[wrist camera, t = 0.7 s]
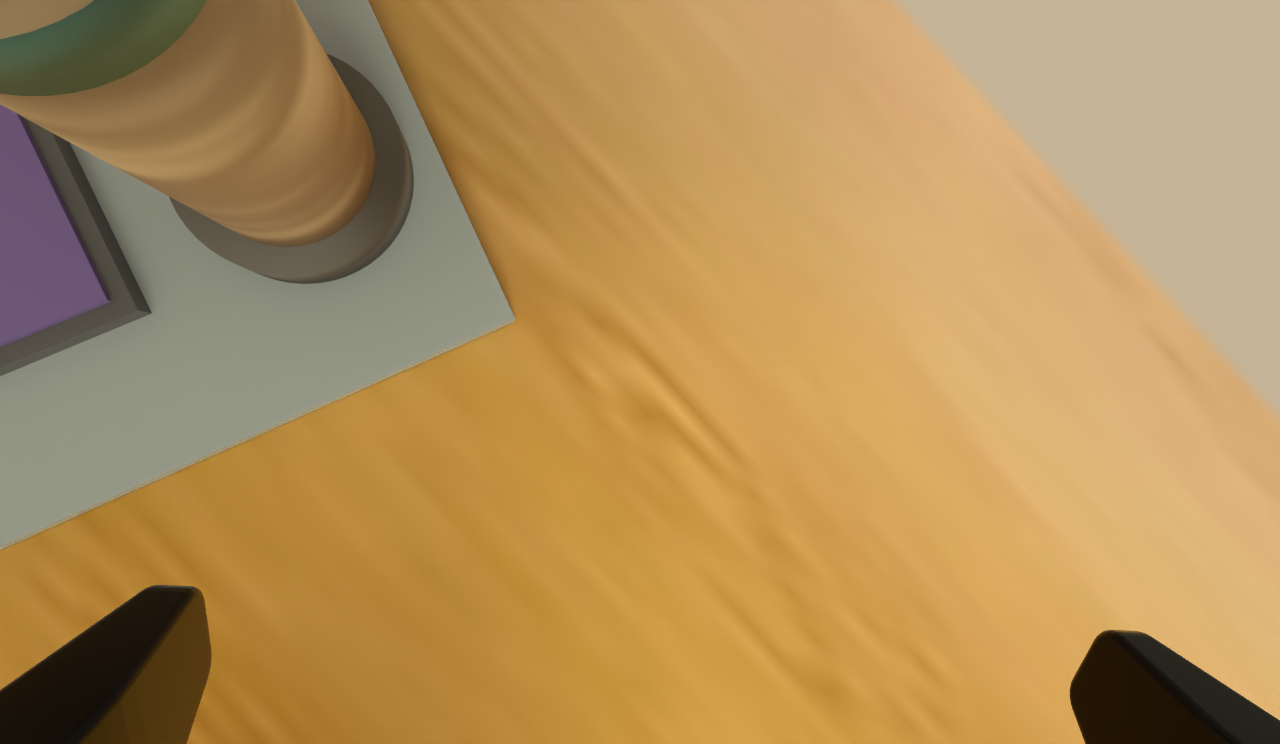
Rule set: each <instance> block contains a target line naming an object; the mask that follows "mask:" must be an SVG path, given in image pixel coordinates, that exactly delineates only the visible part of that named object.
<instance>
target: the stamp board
mask: <svg viewBox="0 0 1280 744" xmlns="http://www.w3.org/2000/svg"><path fill="white" fill-rule="evenodd" d="M295 1H296V3H297V5H298V7H299V8H300V10H301V12H302V13H303V15H304V17H305V18H306V20H307V22H308V24H309V25H310V27H311V29H312V30H313V32H314V34H315V35H316V37H317V39H318V41H319V42H320V44H321V46H322V47H323V49H324V51H325V53H327V54H329V55H332V56H334V57H336V58H338V59H340V60H342V61H343V62H345V63H347V64H348V65H350V66H351V67H353V68H354V69H356V70H357V71H358V72H360V73H361V74H362V75H363V76H364V77H365V78H366V79H367V80H369V81H370V82H371V83H372V84H373V86H374V87H375V88H376V89H377V90H378V91H379V93H380V94H381V95H382V97H383V98H384V100H385V101H386V103H387V104H388V106H389V107H390V109H391V111H392V114H393V116H394V118H395V120H396V122H397V124H398V126H399V128H400V130H401V132H402V134H403V137H404V139H405V141H406V143H407V146H408V149H409V152H410V155H411V160H412V165H413V175H414V188H413V197H412V202H411V206H410V210H409V213H408V216H407V218H406V221H405V223H404V225H403V227H402V229H401V231H400V233H399V234H398V236H397V237H396V239H395V240H394V241H393V243H392V244H391V245H390V246H389V247H388V249H387V250H386V251H385V252H384V253H383V254H382V255H381V256H380V257H378V258H377V259H376V260H375V261H373V262H372V263H371V264H369V265H368V266H366V267H364V268H363V269H361V270H359V271H358V272H355V273H353V274H351V275H349V276H346V277H343V278H340V279H337V280H333V281H329V282H323V283H314V284H298V283H288V282H283V281H278V280H274V279H271V278H268V277H265V276H262V275H259V274H257V273H255V272H253V271H250V270H248V269H246V268H243V267H241V266H239V265H236V264H234V263H232V262H230V261H228V260H226V259H224V258H222V257H221V256H219V255H218V254H216V253H215V252H213V251H212V250H210V249H209V248H207V247H206V246H205V245H204V244H203V243H202V242H200V241H199V240H198V239H197V238H196V237H195V236H194V235H193V234H192V233H191V232H190V230H189V229H188V228H187V227H186V226H185V224H184V223H183V221H182V220H181V219H180V217H179V216H178V214H177V213H176V211H175V209H174V207H173V205H172V203H171V201H170V199H169V196H167V195H166V194H164V193H162V192H160V191H158V190H156V189H155V188H153V187H151V186H149V185H147V184H145V183H144V182H142V181H140V180H138V179H136V178H134V177H133V176H131V175H129V174H127V173H125V172H123V171H122V170H120V169H118V168H116V167H114V166H112V165H110V164H109V163H107V162H105V161H103V160H101V159H99V158H98V157H96V156H94V155H92V154H90V153H88V152H87V151H85V150H83V149H81V148H79V147H77V146H76V145H74V144H72V143H70V142H68V141H66V140H65V139H63V138H61V137H59V136H57V135H55V134H54V133H52V132H50V131H48V130H46V129H44V128H43V127H41V126H39V125H37V124H35V123H33V122H32V121H30V120H28V119H26V118H24V117H22V116H21V115H19V114H17V113H15V112H13V111H11V110H9V109H8V108H6V107H4V106H2V105H0V550H2V549H4V548H6V547H8V546H11V545H13V544H15V543H17V542H20V541H22V540H24V539H26V538H29V537H31V536H33V535H35V534H38V533H40V532H42V531H44V530H47V529H49V528H51V527H53V526H56V525H58V524H60V523H63V522H65V521H67V520H69V519H72V518H74V517H76V516H78V515H81V514H83V513H85V512H87V511H90V510H92V509H94V508H96V507H99V506H101V505H103V504H105V503H108V502H110V501H112V500H114V499H117V498H119V497H121V496H123V495H126V494H128V493H130V492H132V491H135V490H137V489H139V488H141V487H144V486H146V485H148V484H150V483H153V482H155V481H157V480H159V479H162V478H164V477H166V476H168V475H171V474H173V473H175V472H177V471H180V470H182V469H184V468H186V467H189V466H191V465H193V464H195V463H198V462H200V461H202V460H204V459H207V458H209V457H211V456H213V455H216V454H218V453H220V452H222V451H225V450H227V449H229V448H231V447H234V446H236V445H238V444H240V443H243V442H245V441H247V440H249V439H252V438H254V437H256V436H258V435H261V434H263V433H265V432H267V431H270V430H272V429H274V428H276V427H279V426H281V425H283V424H285V423H288V422H290V421H292V420H294V419H297V418H299V417H301V416H303V415H306V414H308V413H310V412H313V411H315V410H317V409H319V408H322V407H324V406H326V405H328V404H331V403H333V402H335V401H337V400H340V399H342V398H344V397H346V396H349V395H351V394H353V393H355V392H358V391H360V390H362V389H364V388H367V387H369V386H371V385H373V384H376V383H378V382H380V381H382V380H385V379H387V378H389V377H391V376H394V375H396V374H398V373H400V372H403V371H405V370H407V369H409V368H412V367H414V366H416V365H418V364H421V363H423V362H425V361H427V360H430V359H432V358H434V357H436V356H439V355H441V354H443V353H445V352H448V351H450V350H452V349H454V348H457V347H459V346H461V345H463V344H466V343H468V342H470V341H472V340H475V339H477V338H479V337H481V336H484V335H486V334H488V333H490V332H493V331H495V330H497V329H499V328H502V327H504V326H506V325H508V324H511V323H513V322H515V317H514V315H513V312H512V310H511V308H510V306H509V304H508V302H507V299H506V297H505V295H504V293H503V291H502V289H501V286H500V284H499V282H498V280H497V278H496V276H495V274H494V271H493V269H492V267H491V265H490V263H489V261H488V258H487V256H486V254H485V252H484V250H483V248H482V245H481V243H480V241H479V239H478V237H477V235H476V232H475V230H474V228H473V226H472V224H471V222H470V219H469V217H468V215H467V213H466V211H465V209H464V206H463V204H462V202H461V200H460V198H459V196H458V193H457V191H456V189H455V187H454V185H453V183H452V181H451V178H450V176H449V174H448V172H447V170H446V168H445V165H444V163H443V161H442V159H441V157H440V155H439V152H438V150H437V148H436V146H435V144H434V142H433V139H432V137H431V135H430V133H429V131H428V129H427V126H426V124H425V122H424V120H423V118H422V116H421V113H420V111H419V109H418V107H417V105H416V103H415V101H414V98H413V96H412V94H411V92H410V90H409V88H408V85H407V83H406V81H405V79H404V77H403V75H402V72H401V70H400V68H399V66H398V64H397V62H396V59H395V57H394V55H393V53H392V51H391V49H390V46H389V44H388V42H387V40H386V38H385V36H384V33H383V31H382V29H381V27H380V25H379V23H378V20H377V18H376V16H375V14H374V12H373V10H372V8H371V5H370V3H369V1H368V0H295Z"/></svg>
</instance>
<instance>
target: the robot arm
mask: <svg viewBox="0 0 1280 744" xmlns="http://www.w3.org/2000/svg"><path fill="white" fill-rule="evenodd" d="M210 666H211V644H210V637H209V630H208V622H207V615H206V608H205V601H204V597H203V594H202V592H201V591H200V590H199V589H198V588H195V587H192V586H171V585H154V586H151V587H148V588H146V589H144V590H143V591H141V592H140V593H138V594H137V595H135V596H134V597H132V598H131V599H130V600H128V601H127V602H125V603H124V604H122V605H121V606H120V607H118V608H117V609H115V610H114V611H112V612H111V613H110V614H108V615H107V616H105V617H104V618H102V619H101V620H100V621H98V622H97V623H95V624H94V625H92V626H91V627H90V628H88V629H87V630H85V631H84V632H82V633H81V634H80V635H78V636H77V637H75V638H74V639H72V640H71V641H70V642H68V643H67V644H65V645H64V646H62V647H61V648H60V649H58V650H57V651H55V652H54V653H53V654H51V655H50V656H48V657H47V658H45V659H44V660H43V661H41V662H40V663H38V664H37V665H35V666H34V667H33V668H31V669H30V670H28V671H27V672H25V673H24V674H23V675H21V676H20V677H18V678H17V679H15V680H14V681H13V682H11V683H10V684H8V685H7V686H5V687H4V688H3V689H1V690H0V744H187V741H188V737H189V734H190V731H191V728H192V725H193V722H194V719H195V716H196V713H197V710H198V707H199V704H200V701H201V698H202V694H203V691H204V688H205V685H206V682H207V679H208V675H209V671H210ZM1070 701H1071V705H1072V709H1073V712H1074V714H1075V717H1076V720H1077V722H1078V725H1079V728H1080V730H1081V733H1082V736H1083V738H1084V741H1085V744H1280V720H1278V719H1277V718H1275V717H1273V716H1272V715H1270V714H1269V713H1267V712H1266V711H1264V710H1263V709H1261V708H1260V707H1258V706H1257V705H1255V704H1254V703H1252V702H1250V701H1249V700H1247V699H1246V698H1244V697H1243V696H1241V695H1240V694H1238V693H1237V692H1235V691H1234V690H1232V689H1231V688H1229V687H1227V686H1226V685H1224V684H1223V683H1221V682H1220V681H1218V680H1217V679H1215V678H1214V677H1212V676H1211V675H1209V674H1208V673H1206V672H1204V671H1203V670H1201V669H1200V668H1198V667H1197V666H1195V665H1194V664H1192V663H1191V662H1189V661H1188V660H1186V659H1185V658H1183V657H1182V656H1180V655H1178V654H1177V653H1175V652H1174V651H1172V650H1171V649H1169V648H1168V647H1166V646H1165V645H1163V644H1162V643H1160V642H1159V641H1157V640H1155V639H1154V638H1152V637H1151V636H1149V635H1147V634H1145V633H1142V632H1138V631H1123V630H1107V631H1103V632H1102V633H1100V634H1099V635H1098V636H1097V637H1096V638H1095V640H1094V642H1093V643H1092V645H1091V647H1090V649H1089V651H1088V652H1087V654H1086V656H1085V658H1084V660H1083V661H1082V663H1081V665H1080V667H1079V669H1078V671H1077V672H1076V674H1075V676H1074V678H1073V680H1072V682H1071V686H1070Z"/></svg>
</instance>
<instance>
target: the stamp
mask: <svg viewBox="0 0 1280 744" xmlns="http://www.w3.org/2000/svg"><path fill="white" fill-rule="evenodd" d="M0 105H2V106H4V107H6V108H8V109H9V110H11V111H13V112H15V113H17V114H19V115H21V116H22V117H24V118H26V119H28V120H30V121H32V122H33V123H35V124H37V125H39V126H41V127H43V128H44V129H46V130H48V131H50V132H52V133H54V134H55V135H57V136H59V137H61V138H63V139H65V140H66V141H68V142H70V143H72V144H74V145H76V146H77V147H79V148H81V149H83V150H85V151H87V152H88V153H90V154H92V155H94V156H96V157H98V158H99V159H101V160H103V161H105V162H107V163H109V164H110V165H112V166H114V167H116V168H118V169H120V170H122V171H123V172H125V173H127V174H129V175H131V176H133V177H134V178H136V179H138V180H140V181H142V182H144V183H145V184H147V185H149V186H151V187H153V188H155V189H156V190H158V191H160V192H162V193H164V194H166V195H167V196H169V199H170V201H171V203H172V205H173V207H174V209H175V211H176V213H177V214H178V216H179V217H180V219H181V220H182V221H183V223H184V224H185V226H186V227H187V228H188V229H189V230H190V232H191V233H192V234H193V235H194V236H195V237H196V238H197V239H198V240H199V241H200V242H202V243H203V244H204V245H205V246H206V247H207V248H209V249H210V250H212V251H213V252H215V253H216V254H218V255H219V256H221V257H222V258H224V259H226V260H228V261H230V262H232V263H234V264H236V265H239V266H241V267H243V268H246V269H248V270H250V271H253V272H255V273H257V274H259V275H262V276H265V277H268V278H271V279H274V280H278V281H283V282H288V283H298V284H314V283H323V282H329V281H333V280H337V279H340V278H343V277H346V276H349V275H351V274H353V273H355V272H358V271H359V270H361V269H363V268H364V267H366V266H368V265H369V264H371V263H372V262H373V261H375V260H376V259H377V258H378V257H380V256H381V255H382V254H383V253H384V252H385V251H386V250H387V249H388V247H389V246H390V245H391V244H392V243H393V241H394V240H395V239H396V237H397V236H398V234H399V233H400V231H401V229H402V227H403V225H404V223H405V221H406V218H407V216H408V213H409V210H410V206H411V202H412V197H413V188H414V175H413V165H412V160H411V155H410V152H409V149H408V146H407V143H406V141H405V139H404V137H403V134H402V132H401V130H400V128H399V126H398V124H397V122H396V120H395V118H394V116H393V114H392V111H391V109H390V107H389V106H388V104H387V103H386V101H385V100H384V98H383V97H382V95H381V94H380V93H379V91H378V90H377V89H376V88H375V87H374V86H373V84H372V83H371V82H370V81H369V80H367V79H366V78H365V77H364V76H363V75H362V74H361V73H360V72H358V71H357V70H356V69H354V68H353V67H351V66H350V65H348V64H347V63H345V62H343V61H342V60H340V59H338V58H336V57H334V56H332V55H329V54H327V53H325V51H324V49H323V47H322V46H321V44H320V42H319V41H318V39H317V37H316V35H315V34H314V32H313V30H312V29H311V27H310V25H309V24H308V22H307V20H306V18H305V17H304V15H303V13H302V12H301V10H300V8H299V7H298V5H297V3H296V1H295V0H0Z"/></svg>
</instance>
